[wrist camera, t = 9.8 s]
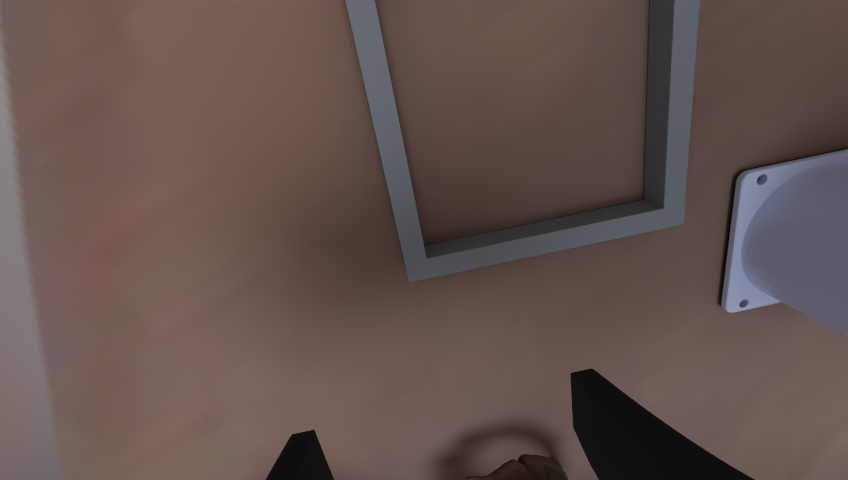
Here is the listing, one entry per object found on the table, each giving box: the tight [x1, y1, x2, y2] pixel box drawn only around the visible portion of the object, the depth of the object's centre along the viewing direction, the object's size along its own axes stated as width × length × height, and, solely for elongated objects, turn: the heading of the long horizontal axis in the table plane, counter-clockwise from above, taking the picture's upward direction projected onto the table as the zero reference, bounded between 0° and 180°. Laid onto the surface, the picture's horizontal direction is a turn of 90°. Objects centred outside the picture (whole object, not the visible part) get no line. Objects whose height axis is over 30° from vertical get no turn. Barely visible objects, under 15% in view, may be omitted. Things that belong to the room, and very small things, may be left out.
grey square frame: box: [346, 0, 700, 283], centre depth 16 cm, size 13×13×2 cm
